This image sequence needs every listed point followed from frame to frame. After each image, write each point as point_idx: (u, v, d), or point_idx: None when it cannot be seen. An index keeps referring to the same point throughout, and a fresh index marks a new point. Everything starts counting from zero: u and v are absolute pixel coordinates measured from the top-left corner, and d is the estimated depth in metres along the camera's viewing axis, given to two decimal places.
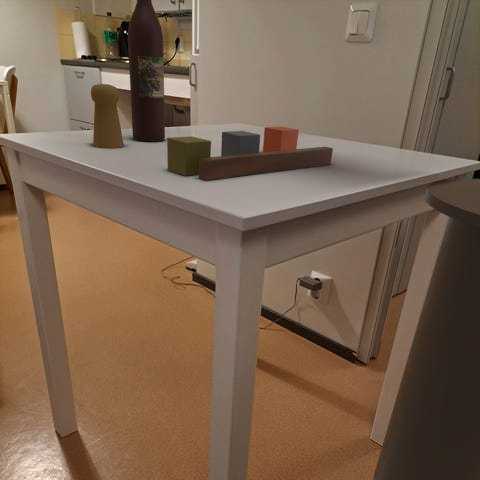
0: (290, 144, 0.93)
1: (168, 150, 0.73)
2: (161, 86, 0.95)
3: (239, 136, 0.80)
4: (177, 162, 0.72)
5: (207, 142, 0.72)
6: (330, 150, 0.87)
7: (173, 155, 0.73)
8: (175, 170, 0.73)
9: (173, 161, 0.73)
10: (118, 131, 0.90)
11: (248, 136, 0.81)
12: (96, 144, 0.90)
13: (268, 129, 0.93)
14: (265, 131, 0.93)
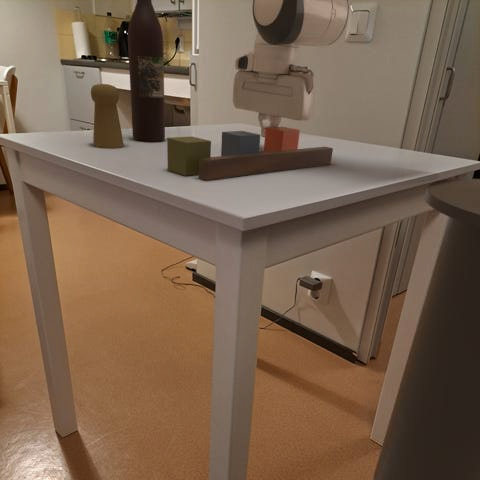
0: (291, 145, 0.93)
1: (168, 150, 0.73)
2: (161, 86, 0.95)
3: (239, 136, 0.80)
4: (177, 162, 0.72)
5: (207, 142, 0.72)
6: (330, 150, 0.87)
7: (173, 155, 0.73)
8: (175, 170, 0.73)
9: (173, 161, 0.73)
10: (118, 131, 0.90)
11: (248, 136, 0.81)
12: (96, 144, 0.90)
13: (269, 129, 0.93)
14: (266, 131, 0.93)
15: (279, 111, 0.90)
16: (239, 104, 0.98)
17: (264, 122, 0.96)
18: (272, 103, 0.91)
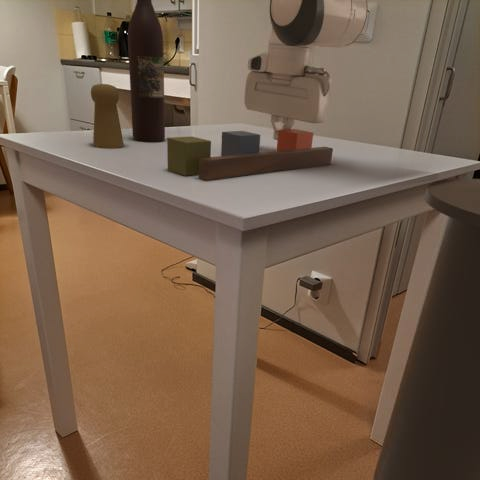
0: None
1: (168, 150, 0.73)
2: (161, 86, 0.95)
3: (239, 136, 0.80)
4: (177, 162, 0.72)
5: (207, 142, 0.72)
6: (330, 150, 0.87)
7: (173, 155, 0.73)
8: (175, 170, 0.73)
9: (173, 161, 0.73)
10: (118, 131, 0.90)
11: (248, 136, 0.81)
12: (96, 144, 0.90)
13: (282, 132, 0.90)
14: (279, 134, 0.91)
15: (293, 113, 0.88)
16: (251, 105, 0.95)
17: (276, 124, 0.94)
18: (285, 105, 0.89)
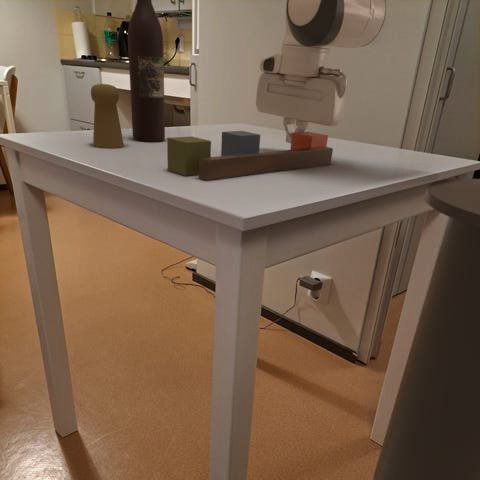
0: None
1: (168, 150, 0.73)
2: (161, 86, 0.95)
3: (239, 136, 0.80)
4: (177, 162, 0.72)
5: (207, 142, 0.72)
6: (330, 150, 0.87)
7: (173, 155, 0.73)
8: (175, 170, 0.73)
9: (173, 161, 0.73)
10: (118, 131, 0.90)
11: (248, 136, 0.81)
12: (96, 144, 0.90)
13: (296, 135, 0.88)
14: (293, 137, 0.89)
15: (307, 116, 0.86)
16: (263, 108, 0.93)
17: (289, 127, 0.91)
18: (299, 107, 0.86)
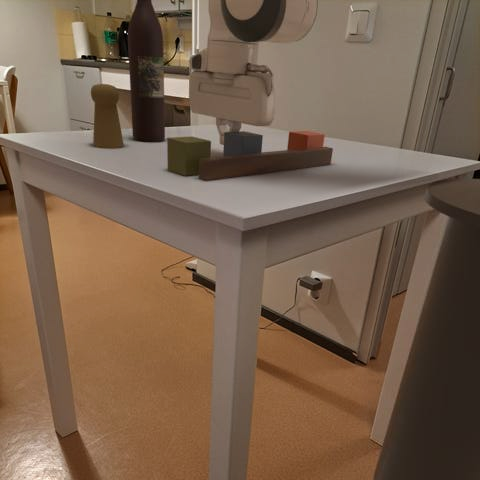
0: None
1: (168, 150, 0.73)
2: (161, 86, 0.95)
3: (241, 137, 0.80)
4: (177, 162, 0.72)
5: (207, 142, 0.72)
6: (330, 150, 0.87)
7: (173, 155, 0.73)
8: (175, 170, 0.73)
9: (173, 161, 0.73)
10: (118, 131, 0.90)
11: (250, 137, 0.81)
12: (96, 144, 0.90)
13: (292, 134, 0.89)
14: (289, 136, 0.89)
15: (237, 116, 0.80)
16: (196, 108, 0.87)
17: (222, 128, 0.86)
18: (229, 107, 0.81)
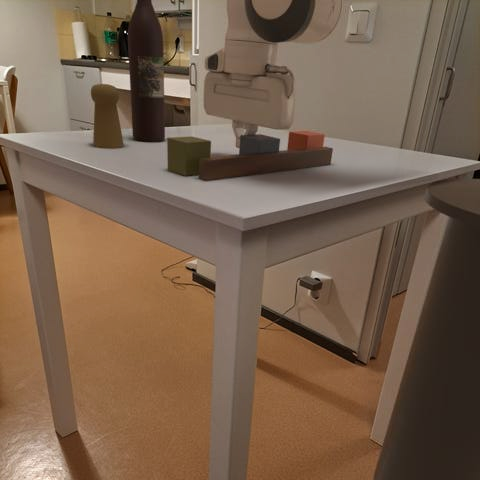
0: None
1: (168, 150, 0.73)
2: (161, 86, 0.95)
3: (259, 140, 0.77)
4: (177, 162, 0.72)
5: (207, 142, 0.72)
6: (330, 150, 0.87)
7: (173, 155, 0.73)
8: (175, 170, 0.73)
9: (173, 161, 0.73)
10: (118, 131, 0.90)
11: (268, 141, 0.78)
12: (96, 144, 0.90)
13: (292, 134, 0.89)
14: (289, 136, 0.89)
15: (255, 118, 0.77)
16: (211, 110, 0.85)
17: (239, 131, 0.83)
18: (246, 109, 0.78)
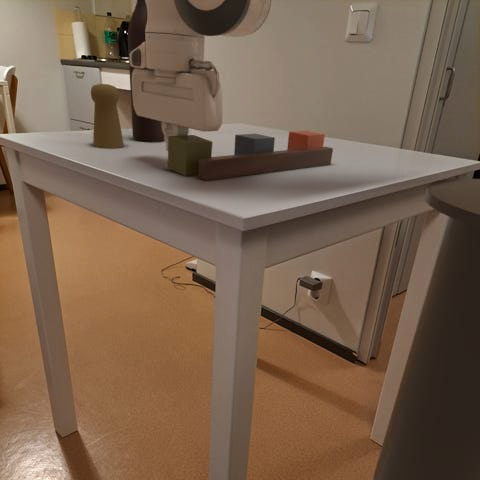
0: None
1: (169, 148, 0.73)
2: None
3: (253, 139, 0.78)
4: (178, 162, 0.72)
5: (208, 142, 0.72)
6: (330, 150, 0.87)
7: (173, 154, 0.72)
8: (175, 169, 0.73)
9: (174, 160, 0.73)
10: (118, 131, 0.90)
11: (262, 139, 0.79)
12: (96, 144, 0.90)
13: (292, 134, 0.89)
14: (289, 136, 0.89)
15: (181, 119, 0.70)
16: (140, 110, 0.77)
17: (169, 133, 0.76)
18: (173, 109, 0.71)
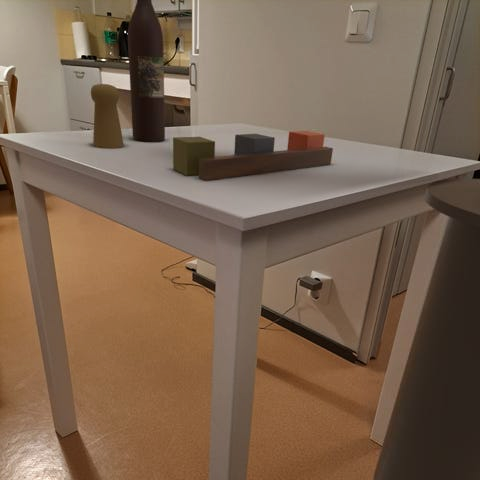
0: None
1: (173, 149, 0.74)
2: (161, 86, 0.95)
3: (253, 139, 0.78)
4: (180, 162, 0.73)
5: (210, 142, 0.72)
6: (330, 150, 0.87)
7: (177, 155, 0.73)
8: (179, 169, 0.74)
9: (178, 160, 0.74)
10: (118, 131, 0.90)
11: (262, 139, 0.79)
12: (96, 144, 0.90)
13: (292, 134, 0.89)
14: (289, 136, 0.89)
15: None
16: None
17: None
18: None
